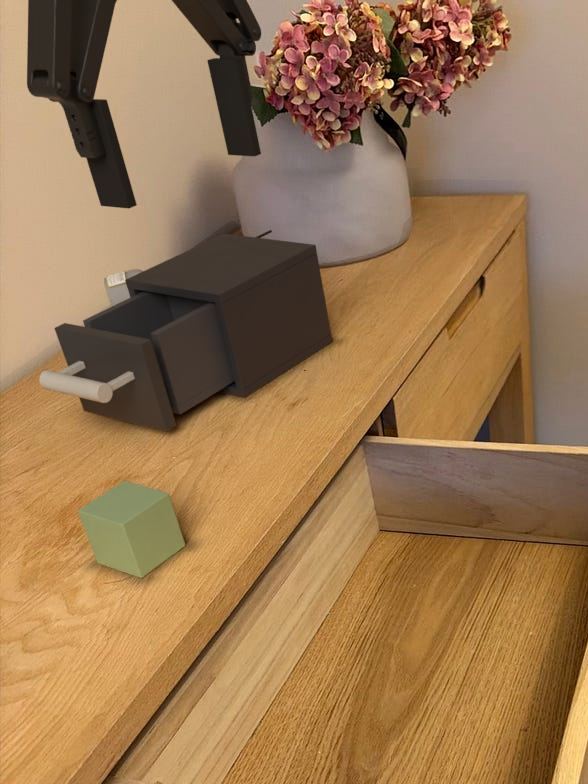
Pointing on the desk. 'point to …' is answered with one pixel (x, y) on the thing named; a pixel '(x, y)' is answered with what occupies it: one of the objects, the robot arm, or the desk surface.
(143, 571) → the block
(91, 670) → the desk surface
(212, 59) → the robot arm
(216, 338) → the drawer
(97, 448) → the desk surface
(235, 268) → the cabinet
